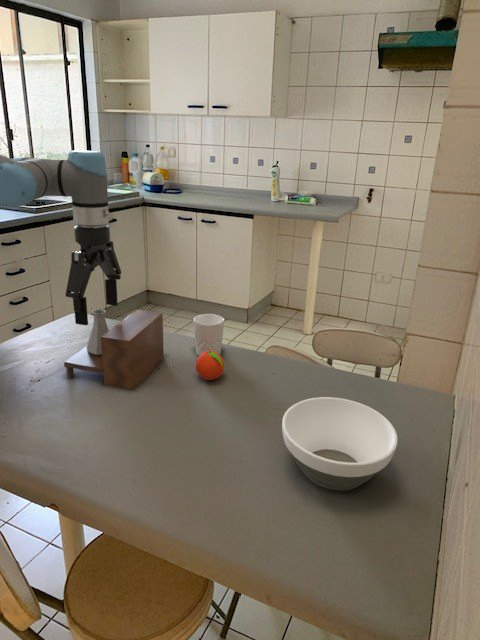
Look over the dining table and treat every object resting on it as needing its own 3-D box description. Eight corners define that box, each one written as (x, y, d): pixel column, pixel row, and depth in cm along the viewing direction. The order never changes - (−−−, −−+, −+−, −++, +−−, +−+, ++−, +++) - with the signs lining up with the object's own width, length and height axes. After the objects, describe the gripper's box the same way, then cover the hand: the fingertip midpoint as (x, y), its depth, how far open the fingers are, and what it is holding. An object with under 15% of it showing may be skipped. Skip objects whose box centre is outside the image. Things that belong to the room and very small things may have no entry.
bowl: (408, 474, 84) (418, 430, 80) (348, 532, 71) (356, 483, 67) (321, 426, 96) (326, 386, 93) (256, 468, 83) (258, 423, 80)
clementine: (232, 380, 113) (234, 353, 110) (212, 390, 108) (212, 362, 105) (210, 368, 118) (211, 343, 115) (189, 377, 113) (189, 351, 110)
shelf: (66, 381, 109) (60, 330, 104) (105, 349, 125) (101, 304, 120) (132, 393, 105) (129, 341, 100) (163, 358, 121) (162, 312, 116)
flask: (81, 347, 114) (77, 309, 111) (108, 340, 119) (106, 303, 115) (94, 358, 109) (91, 319, 106) (122, 350, 114) (120, 312, 110)
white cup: (222, 360, 122) (223, 325, 118) (192, 359, 122) (192, 324, 118) (223, 347, 129) (224, 314, 125) (195, 346, 129) (195, 313, 125)
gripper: (74, 237, 91) (82, 336, 99) (133, 217, 113) (135, 299, 121) (41, 233, 92) (51, 330, 100) (105, 214, 115) (109, 295, 123)
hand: (97, 314), depth 111 cm, fingers open, 13 cm apart
